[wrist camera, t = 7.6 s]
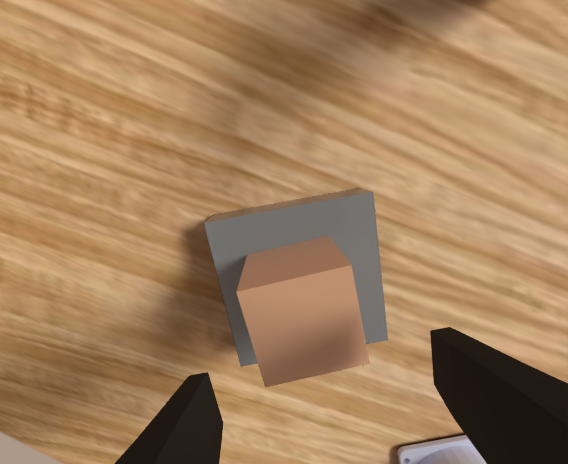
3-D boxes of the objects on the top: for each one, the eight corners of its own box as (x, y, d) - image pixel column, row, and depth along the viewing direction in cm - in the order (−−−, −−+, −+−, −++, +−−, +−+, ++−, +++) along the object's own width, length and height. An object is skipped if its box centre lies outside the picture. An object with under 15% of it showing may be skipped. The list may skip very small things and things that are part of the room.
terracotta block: (343, 308, 16) (369, 363, 11) (267, 326, 16) (265, 387, 12) (328, 235, 15) (351, 265, 10) (247, 254, 15) (236, 291, 10)
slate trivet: (370, 313, 19) (388, 340, 16) (245, 336, 19) (240, 366, 16) (356, 187, 17) (372, 191, 14) (215, 213, 17) (203, 223, 14)
